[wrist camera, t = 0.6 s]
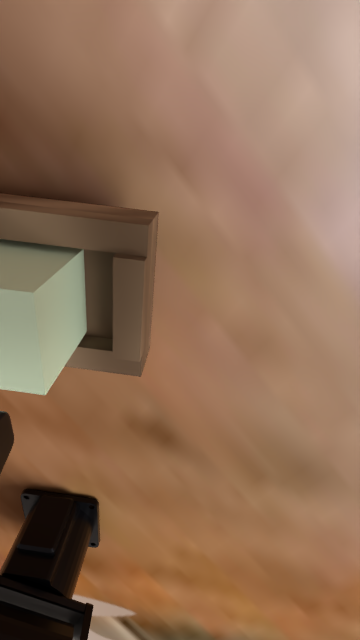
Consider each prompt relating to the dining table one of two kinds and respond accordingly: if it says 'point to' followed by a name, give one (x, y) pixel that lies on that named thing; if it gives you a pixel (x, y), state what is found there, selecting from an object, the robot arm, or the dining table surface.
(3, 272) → the pale green cube
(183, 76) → the dining table surface
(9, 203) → the beam
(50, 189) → the dining table surface
